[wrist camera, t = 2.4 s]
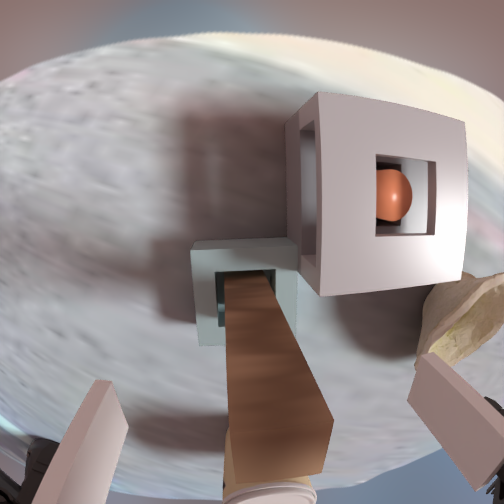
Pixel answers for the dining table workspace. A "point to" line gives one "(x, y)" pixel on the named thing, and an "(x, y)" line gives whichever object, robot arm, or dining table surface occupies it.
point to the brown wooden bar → (269, 388)
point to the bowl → (461, 317)
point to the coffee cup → (264, 487)
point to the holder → (239, 259)
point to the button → (392, 195)
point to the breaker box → (374, 194)
